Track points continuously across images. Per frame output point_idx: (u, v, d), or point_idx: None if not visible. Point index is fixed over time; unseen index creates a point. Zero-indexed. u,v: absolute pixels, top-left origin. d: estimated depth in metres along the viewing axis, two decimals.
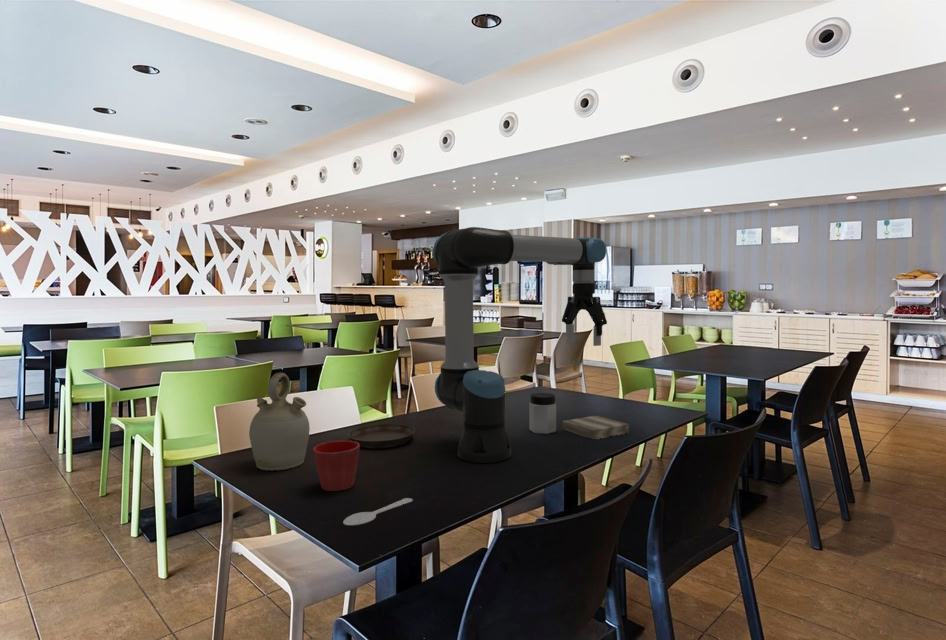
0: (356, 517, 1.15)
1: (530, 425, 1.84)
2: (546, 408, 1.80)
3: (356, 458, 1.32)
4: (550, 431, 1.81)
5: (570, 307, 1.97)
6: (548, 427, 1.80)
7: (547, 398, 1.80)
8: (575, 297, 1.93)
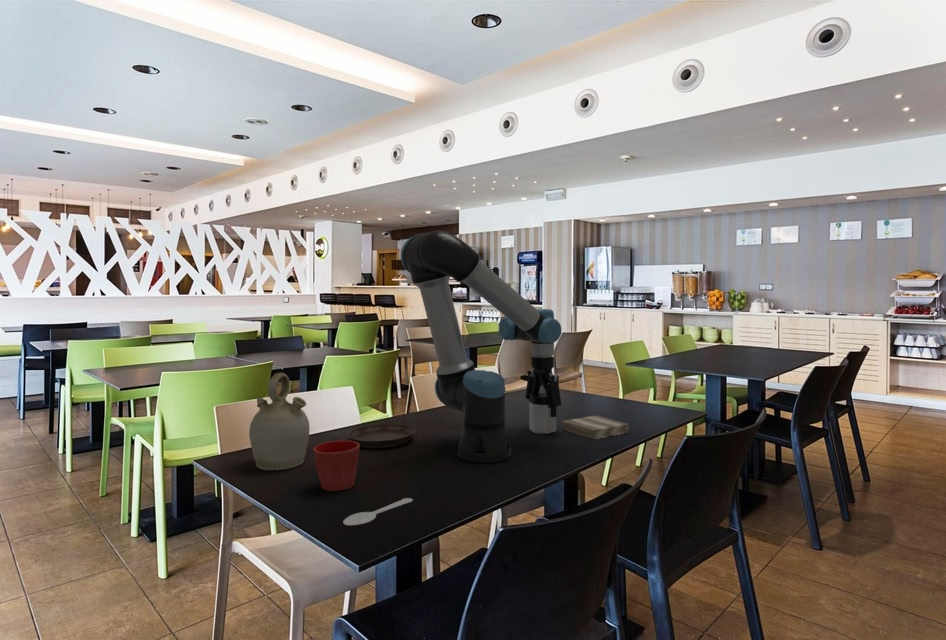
0: (356, 517, 1.15)
1: (530, 425, 1.84)
2: (546, 408, 1.80)
3: (356, 458, 1.32)
4: (550, 431, 1.81)
5: (531, 382, 1.88)
6: (548, 427, 1.80)
7: None
8: (534, 370, 1.85)
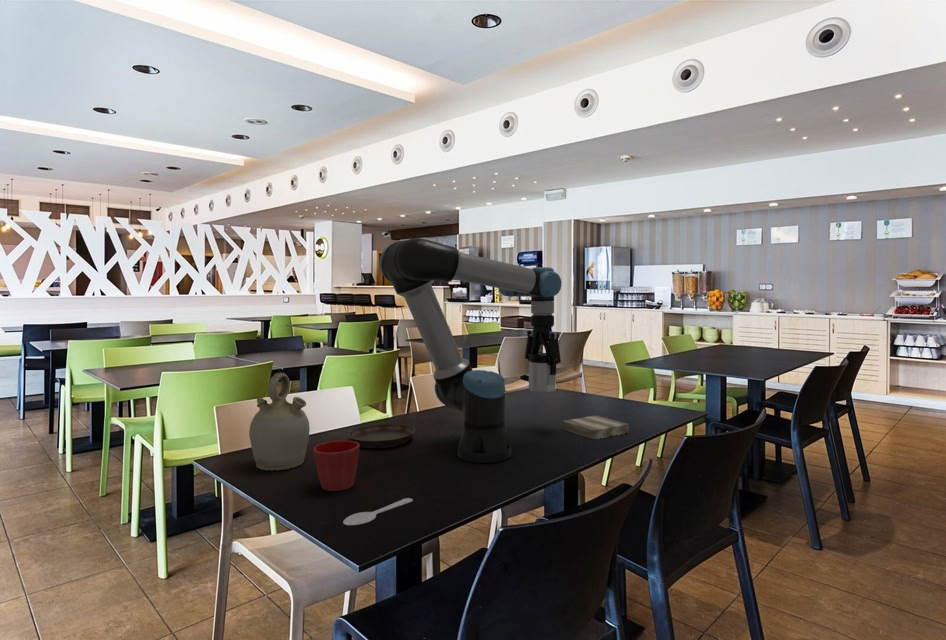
0: (356, 517, 1.15)
1: (529, 384, 1.83)
2: (546, 366, 1.79)
3: (356, 458, 1.32)
4: (549, 390, 1.80)
5: (531, 342, 1.87)
6: (547, 385, 1.79)
7: None
8: (534, 329, 1.85)
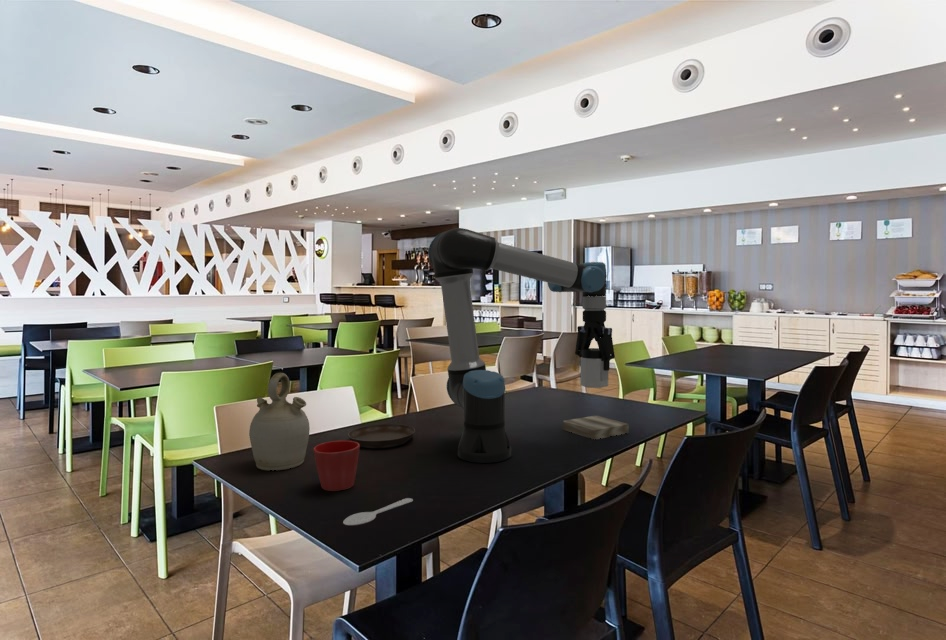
0: (356, 517, 1.15)
1: (581, 380, 1.82)
2: (599, 362, 1.77)
3: (356, 458, 1.32)
4: (603, 385, 1.79)
5: (581, 337, 1.86)
6: (601, 381, 1.78)
7: None
8: (585, 325, 1.83)
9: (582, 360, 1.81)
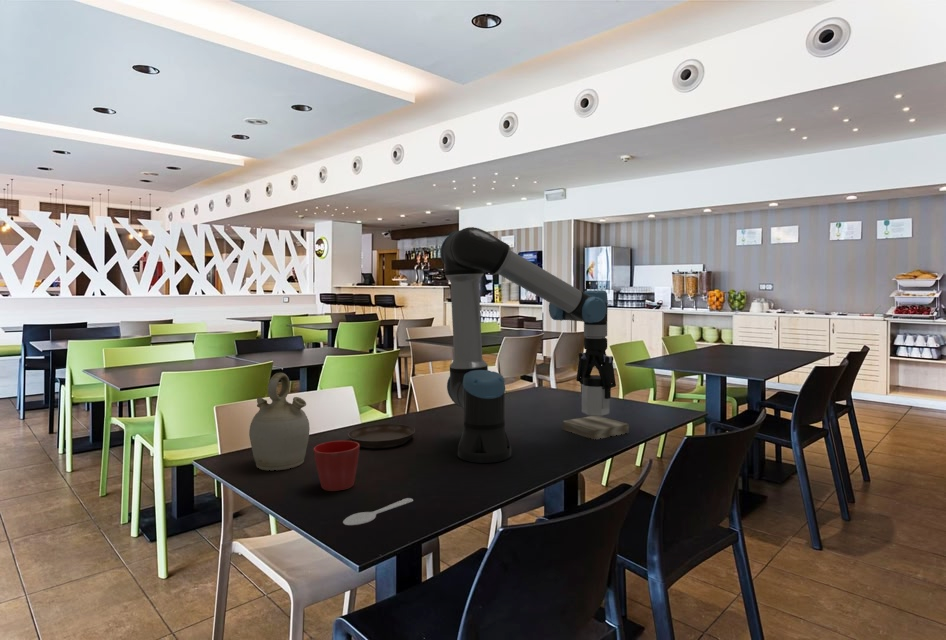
0: (356, 517, 1.15)
1: (583, 407, 1.83)
2: (600, 390, 1.78)
3: (356, 458, 1.32)
4: (604, 413, 1.79)
5: (583, 364, 1.86)
6: (602, 409, 1.78)
7: None
8: (586, 352, 1.84)
9: (583, 387, 1.82)
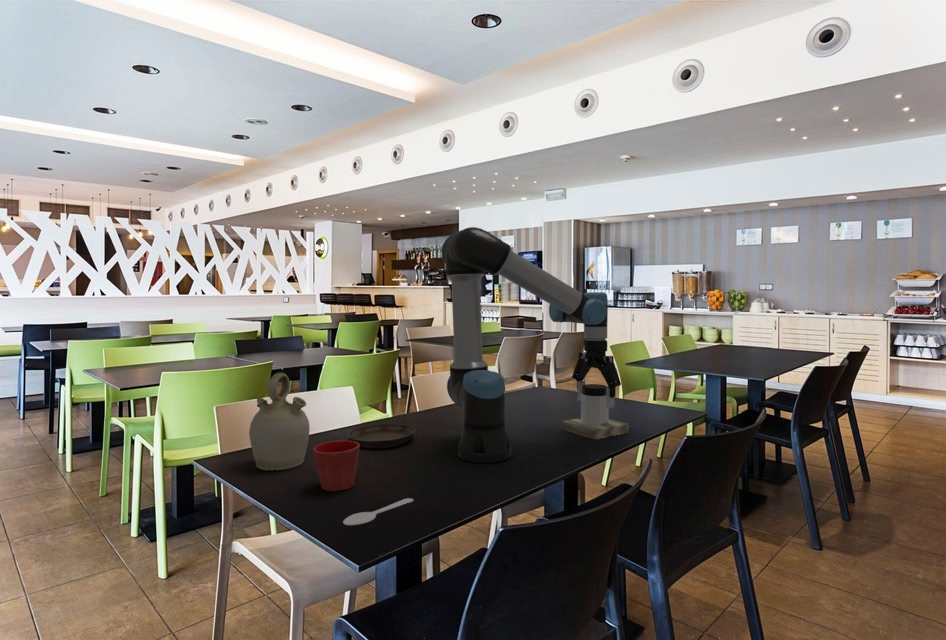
0: (356, 517, 1.15)
1: (582, 416, 1.83)
2: (598, 399, 1.78)
3: (356, 458, 1.32)
4: (602, 422, 1.79)
5: (581, 363, 1.87)
6: (600, 418, 1.79)
7: (599, 389, 1.78)
8: (586, 354, 1.83)
9: (582, 397, 1.82)
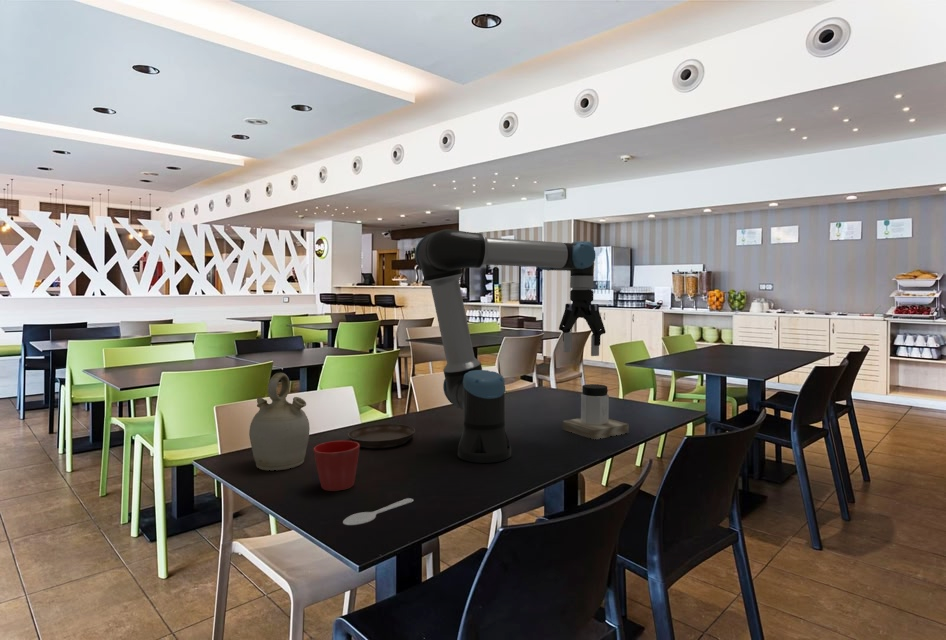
0: (356, 517, 1.15)
1: (582, 416, 1.83)
2: (599, 399, 1.78)
3: (356, 458, 1.32)
4: (602, 422, 1.79)
5: (568, 315, 1.88)
6: (600, 418, 1.79)
7: (600, 389, 1.78)
8: (573, 304, 1.84)
9: (582, 397, 1.82)
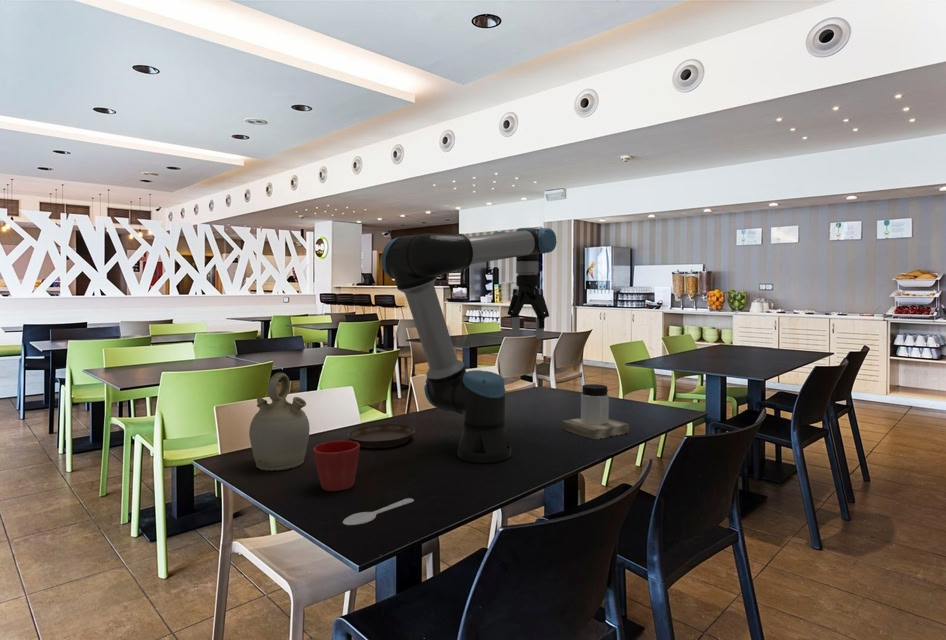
0: (356, 517, 1.15)
1: (582, 416, 1.83)
2: (599, 399, 1.78)
3: (356, 458, 1.32)
4: (602, 422, 1.79)
5: (515, 300, 1.93)
6: (600, 418, 1.79)
7: (600, 389, 1.78)
8: (519, 289, 1.89)
9: (582, 397, 1.82)
